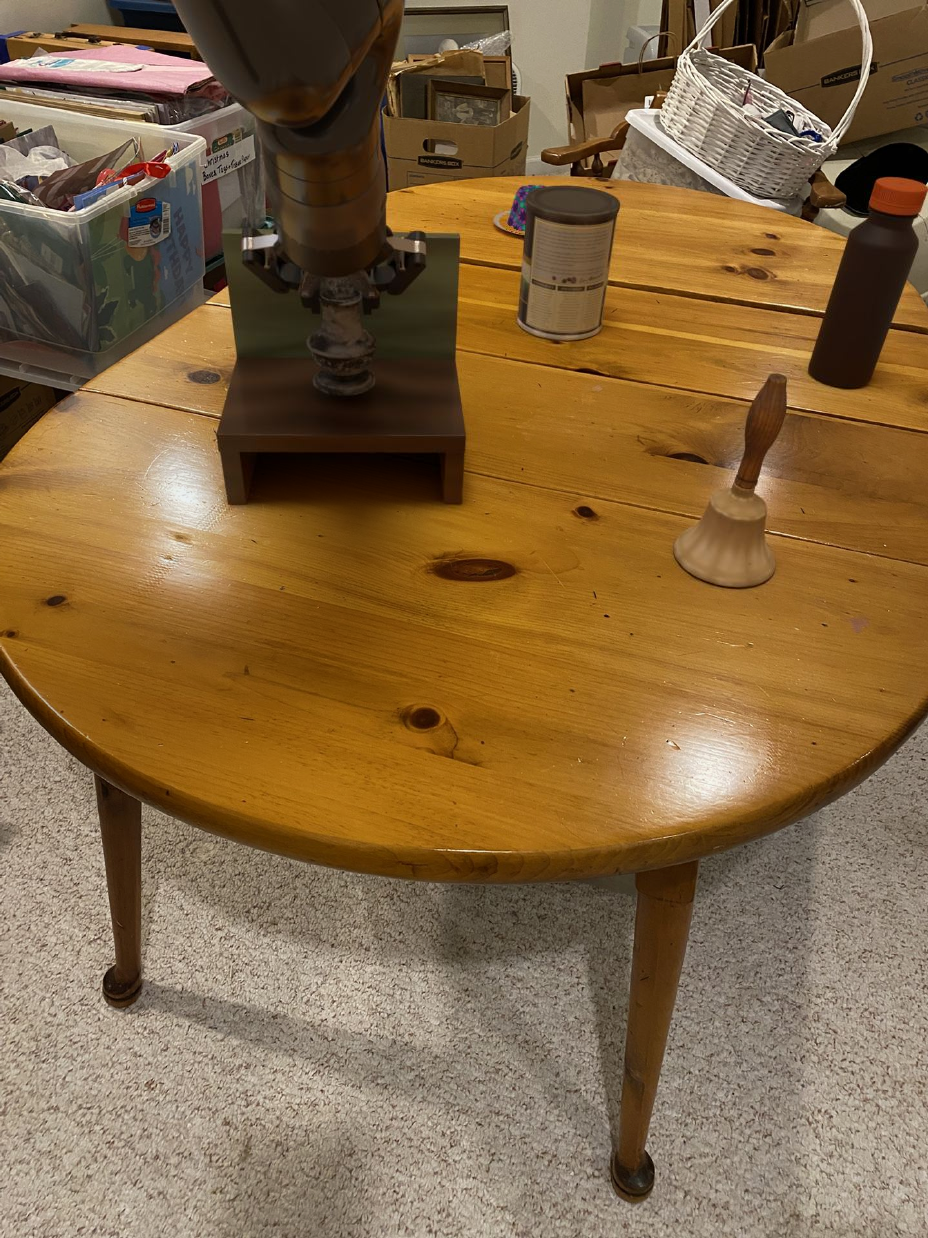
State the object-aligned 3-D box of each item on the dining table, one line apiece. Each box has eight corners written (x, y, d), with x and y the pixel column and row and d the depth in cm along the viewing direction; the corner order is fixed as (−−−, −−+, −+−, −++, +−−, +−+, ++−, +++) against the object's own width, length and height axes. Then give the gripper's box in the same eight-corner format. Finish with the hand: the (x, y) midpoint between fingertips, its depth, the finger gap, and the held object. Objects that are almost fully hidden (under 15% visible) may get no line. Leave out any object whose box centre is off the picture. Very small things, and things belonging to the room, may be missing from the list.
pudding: (568, 245, 130) (572, 206, 127) (485, 235, 132) (487, 196, 129) (579, 219, 139) (584, 182, 136) (502, 210, 141) (504, 173, 138)
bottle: (873, 393, 100) (945, 197, 87) (809, 384, 100) (870, 190, 87) (866, 366, 105) (932, 177, 92) (804, 358, 105) (861, 170, 92)
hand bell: (713, 516, 80) (759, 341, 70) (795, 562, 76) (858, 382, 65) (652, 551, 76) (692, 371, 65) (735, 602, 71) (792, 417, 61)
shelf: (462, 507, 80) (472, 303, 68) (226, 507, 78) (195, 298, 66) (452, 420, 91) (459, 232, 79) (246, 419, 89) (222, 227, 78)
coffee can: (499, 315, 111) (507, 191, 102) (567, 300, 115) (581, 180, 106) (550, 348, 105) (564, 219, 95) (620, 331, 109) (640, 206, 100)
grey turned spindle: (388, 372, 80) (386, 229, 72) (364, 401, 76) (360, 253, 68) (325, 361, 81) (316, 219, 73) (298, 390, 77) (286, 243, 69)
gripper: (436, 138, 60) (426, 260, 77) (215, 132, 59) (254, 257, 76) (438, 250, 59) (428, 348, 77) (214, 246, 58) (254, 346, 75)
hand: (341, 302), depth 76 cm, fingers closed on grey turned spindle, 3 cm apart
